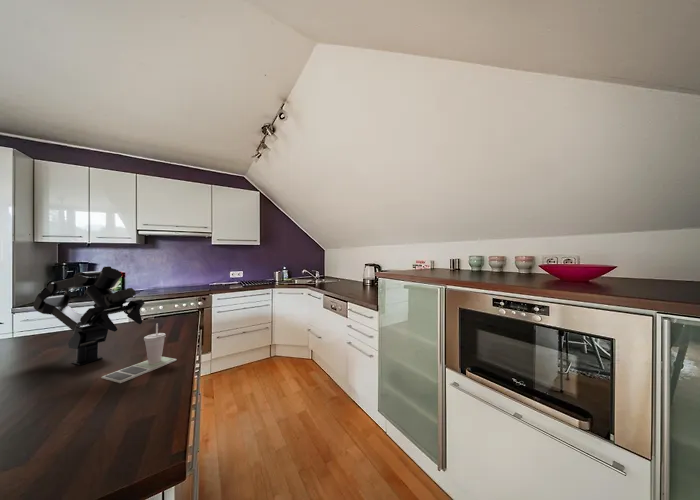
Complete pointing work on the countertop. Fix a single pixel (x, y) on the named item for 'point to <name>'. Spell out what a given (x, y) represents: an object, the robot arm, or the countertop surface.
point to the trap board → (136, 370)
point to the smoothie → (154, 346)
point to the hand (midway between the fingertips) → (129, 326)
